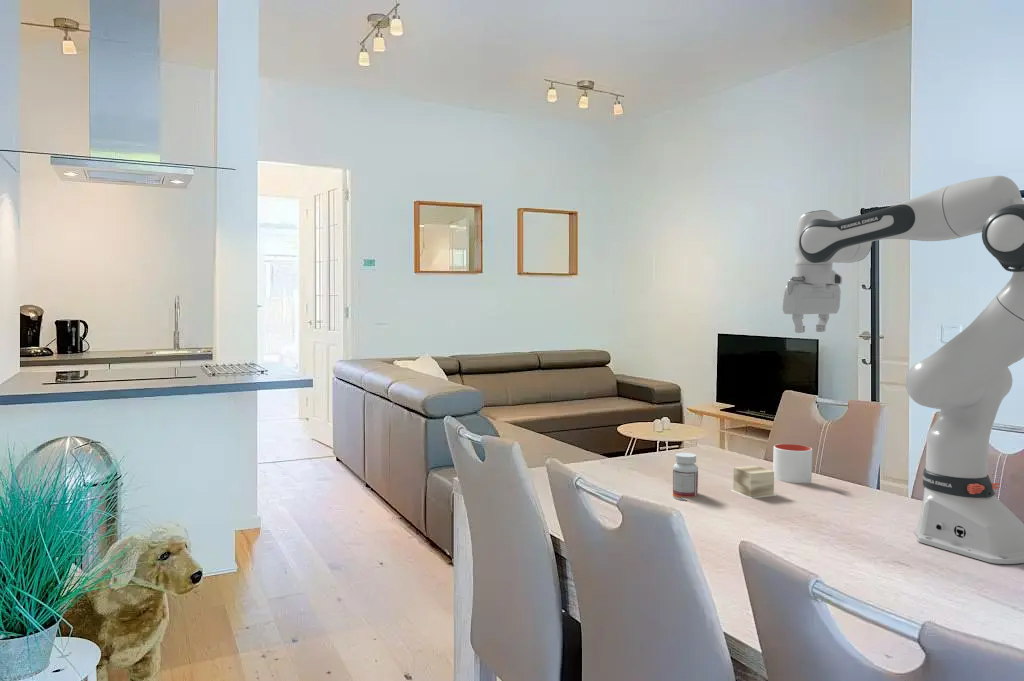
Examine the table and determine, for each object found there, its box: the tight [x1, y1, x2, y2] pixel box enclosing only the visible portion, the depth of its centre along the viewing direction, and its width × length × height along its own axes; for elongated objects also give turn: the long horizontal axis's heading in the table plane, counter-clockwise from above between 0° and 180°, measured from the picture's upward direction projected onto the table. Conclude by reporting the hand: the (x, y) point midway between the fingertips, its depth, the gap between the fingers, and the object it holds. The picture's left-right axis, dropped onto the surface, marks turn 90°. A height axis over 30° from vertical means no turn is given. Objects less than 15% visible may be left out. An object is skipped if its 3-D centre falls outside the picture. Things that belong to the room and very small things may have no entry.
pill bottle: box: [672, 452, 699, 502], centre depth 181 cm, size 6×6×11 cm
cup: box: [772, 443, 813, 485], centre depth 197 cm, size 10×10×10 cm
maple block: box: [732, 465, 775, 497], centre depth 182 cm, size 7×7×6 cm
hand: (810, 332), depth 178 cm, fingers open, 8 cm apart
